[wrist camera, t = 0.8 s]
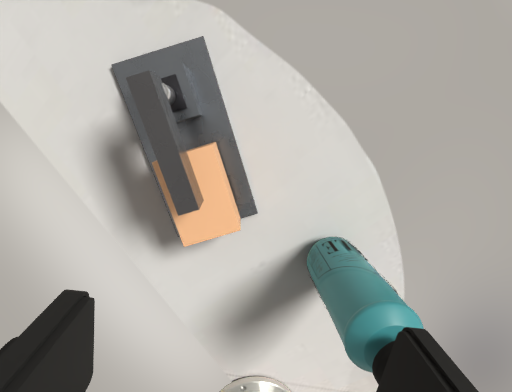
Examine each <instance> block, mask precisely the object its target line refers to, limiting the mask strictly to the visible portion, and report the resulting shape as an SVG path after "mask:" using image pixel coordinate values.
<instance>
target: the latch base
mask: <svg viewBox="0 0 512 392" xmlns="http://www.w3.org/2000/svg"><path fill="white" fill-rule="evenodd" d="M112 68H113V71H114V73H115V76H116V78H117V81H118V83H119V86H120V89H121V91H122V94H123V96H124V99H125V101H126V104H127V107H128V109H129V112H130V114H131V117H132V119H133V122H134V125H135V127H136V130H137V132H138V135H139V137H140V140H141V143H142V145H143V148H144V150H145V153H146V155H147V158H148V161H149V163H150V166H151V168H152V171H153V173H154V176H155V179H156V181H157V184H158V186H159V189H160V191H161V194H162V197H163V199H164V202H165V204H166V207H167V209H168V212H169V215H170V217H171V220H172V222H173V225H174V227H175V230H176V233H177V235H178V237H180V235H179V232H178V230H177V227H176V225H175V222H174V219H173V217H172V214H171V212H170V209H169V206H168V204H167V201H166V199H165V196H164V194H163V191H162V188H161V186H160V183H159V181H158V178H157V175H156V173H155V170H154V168H153V165H152V162H154V161H156V160H157V159H156V156H155V154H154V151H153V148H152V146H151V143H150V141H149V138H148V135H147V133H146V130H145V127H144V125H143V122H142V120H141V117H140V114H139V112H138V109H137V106H136V104H135V101H134V99H133V96H132V93H131V91H130V88H129V86H128V83H127V80H126V77H129V76H132V75H136V74H139V73H142V72H145V71H148V70H149V71H151V72H153V73H155V74H156V75H158V76H160V78H161V80H162V83H164V84H166V85H168V86H170V87H171V88H172V89H173V90H174V92H175V96H176V98H175V101H174V103H173V104H172V105H171V109H172V112H173V114H174V117H175V120H176V123H177V126H178V129H179V131H180V134H181V137H182V140H183V143H184V146H185V148H186V151H187V150H190V149H193V148H197V147H200V146H203V145H206V144H210V143H213V142H216V144H217V147H218V150H219V153H220V156H221V160H222V163H223V166H224V169H225V172H226V175H227V178H228V181H229V184H230V187H231V190H232V193H233V196H234V200H235V203H236V206H237V209H238V212H239V215H240V218H244V217H247V216H250V215H254V214H257V213H258V212H257V209H256V206H255V202H254V199H253V196H252V193H251V189H250V186H249V183H248V180H247V176H246V173H245V170H244V167H243V163H242V160H241V157H240V154H239V150H238V147H237V144H236V141H235V137H234V134H233V131H232V128H231V124H230V121H229V118H228V115H227V111H226V108H225V105H224V102H223V98H222V95H221V92H220V89H219V85H218V82H217V79H216V76H215V72H214V69H213V66H212V63H211V59H210V56H209V53H208V50H207V46H206V43H205V40H204V37H203V36H202V37H199V38H195V39H192V40H189V41H186V42H183V43H179V44H176V45H173V46H170V47H167V48H163V49H160V50H157V51H154V52H151V53H147V54H144V55H141V56H138V57H135V58H131V59H128V60H125V61H122V62H119V63H115V64H112Z"/></svg>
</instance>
